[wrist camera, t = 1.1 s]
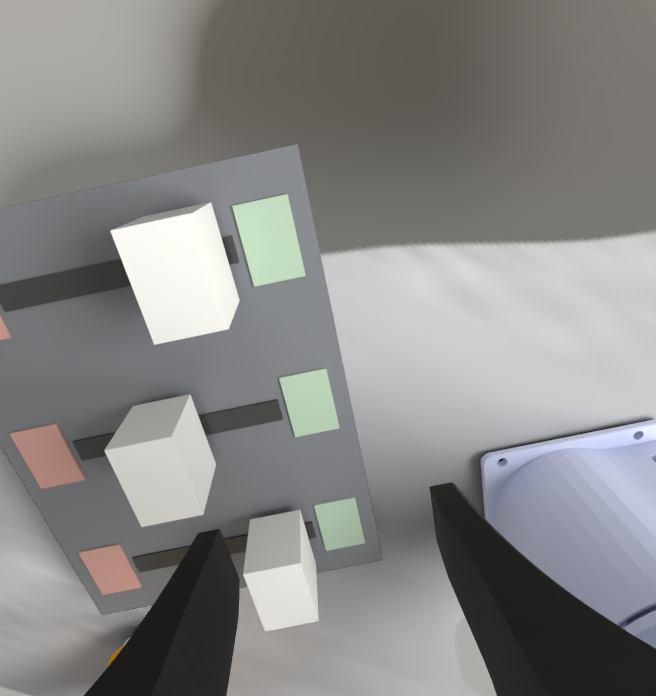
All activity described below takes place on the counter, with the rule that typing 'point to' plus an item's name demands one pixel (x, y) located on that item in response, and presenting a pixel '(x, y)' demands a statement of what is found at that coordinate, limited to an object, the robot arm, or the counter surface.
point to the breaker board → (178, 376)
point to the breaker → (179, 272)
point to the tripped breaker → (163, 460)
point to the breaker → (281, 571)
